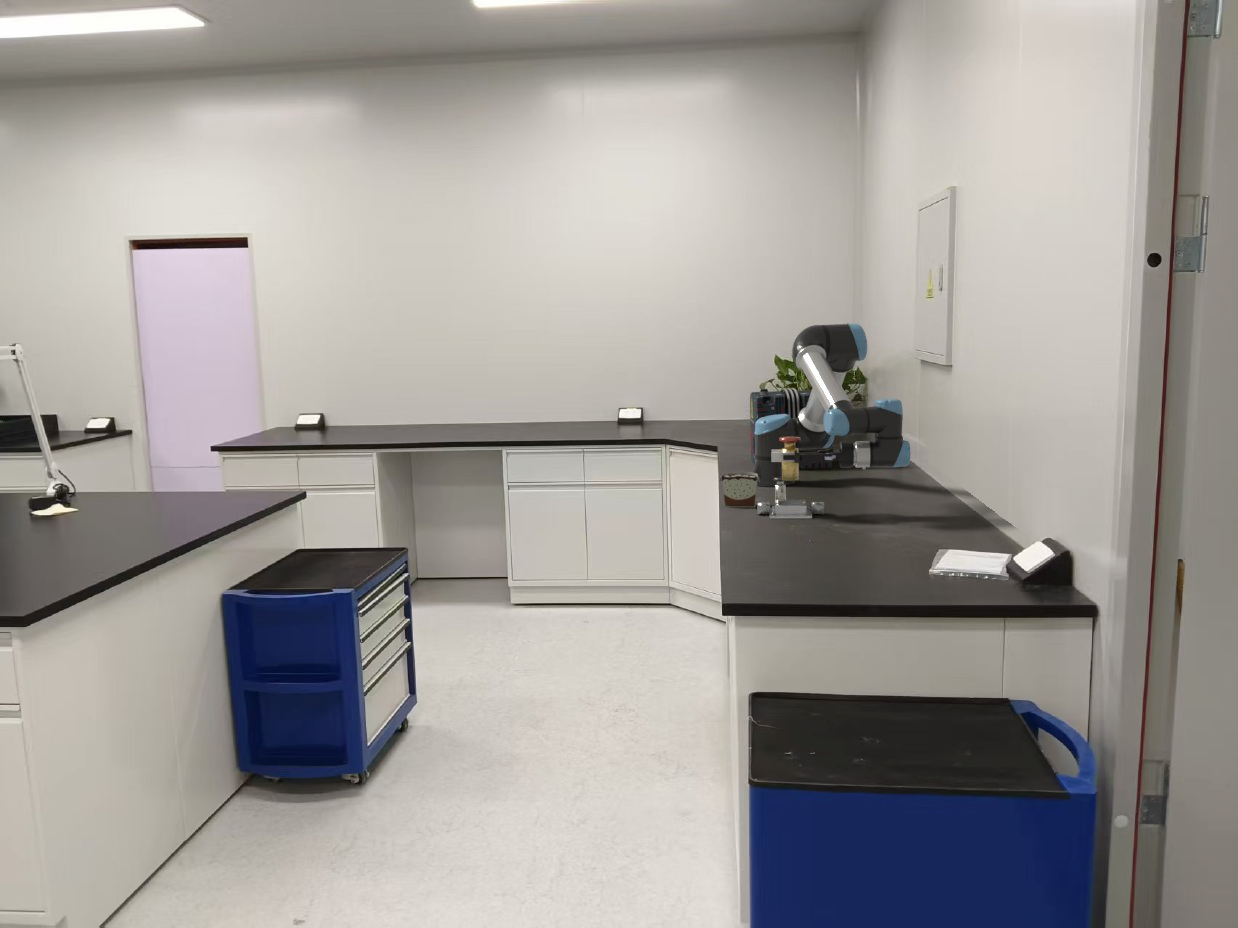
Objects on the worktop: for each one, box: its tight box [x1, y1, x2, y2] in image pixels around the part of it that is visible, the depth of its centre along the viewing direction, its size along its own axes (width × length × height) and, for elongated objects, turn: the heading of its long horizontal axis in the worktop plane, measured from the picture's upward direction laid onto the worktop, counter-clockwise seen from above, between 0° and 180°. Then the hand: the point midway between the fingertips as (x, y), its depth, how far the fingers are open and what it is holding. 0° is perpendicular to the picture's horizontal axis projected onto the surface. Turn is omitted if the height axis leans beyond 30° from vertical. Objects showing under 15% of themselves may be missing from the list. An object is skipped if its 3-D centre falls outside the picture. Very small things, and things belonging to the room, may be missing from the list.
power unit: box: [749, 387, 833, 470], centre depth 375 cm, size 28×28×30 cm
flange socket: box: [756, 499, 825, 520], centre depth 284 cm, size 12×19×4 cm, turn 80°
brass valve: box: [779, 437, 800, 482], centre depth 282 cm, size 6×6×12 cm
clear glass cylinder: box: [774, 477, 787, 501], centre depth 297 cm, size 4×4×9 cm
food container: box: [719, 471, 760, 508], centre depth 300 cm, size 12×6×10 cm, turn 74°
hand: (771, 455), depth 283 cm, fingers closed on brass valve, 5 cm apart
